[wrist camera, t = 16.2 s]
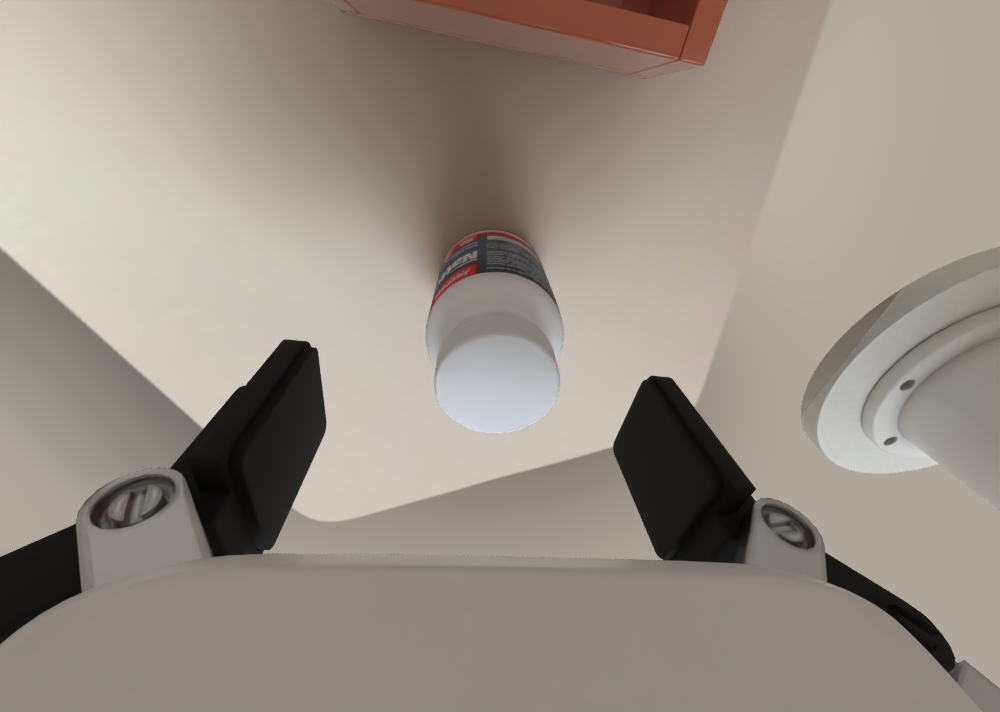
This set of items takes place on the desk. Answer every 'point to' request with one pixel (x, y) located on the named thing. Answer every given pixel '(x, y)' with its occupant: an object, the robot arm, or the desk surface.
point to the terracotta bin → (569, 28)
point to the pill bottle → (494, 334)
